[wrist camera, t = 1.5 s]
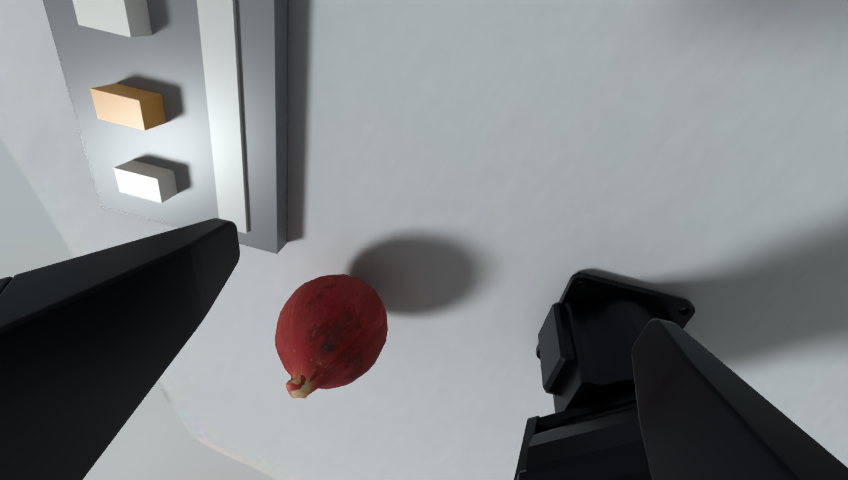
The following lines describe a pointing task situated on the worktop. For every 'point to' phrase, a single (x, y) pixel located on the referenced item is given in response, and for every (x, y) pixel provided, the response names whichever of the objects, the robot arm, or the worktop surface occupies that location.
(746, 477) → the robot arm
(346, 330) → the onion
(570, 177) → the worktop surface
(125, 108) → the block
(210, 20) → the panel
